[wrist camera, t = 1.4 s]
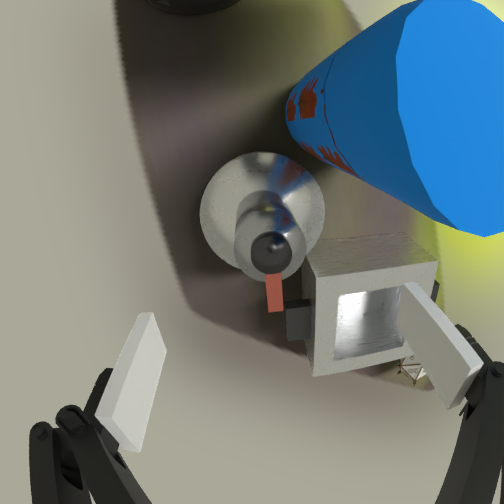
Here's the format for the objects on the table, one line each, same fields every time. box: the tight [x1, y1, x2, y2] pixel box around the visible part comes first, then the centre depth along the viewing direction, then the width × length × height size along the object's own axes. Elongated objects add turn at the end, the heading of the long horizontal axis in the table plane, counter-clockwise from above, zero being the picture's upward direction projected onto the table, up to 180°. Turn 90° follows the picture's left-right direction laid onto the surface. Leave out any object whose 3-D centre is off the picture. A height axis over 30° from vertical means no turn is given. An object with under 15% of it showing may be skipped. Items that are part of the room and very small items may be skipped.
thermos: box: [285, 0, 504, 237], centre depth 18 cm, size 11×11×25 cm
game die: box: [397, 354, 426, 386], centre depth 41 cm, size 9×8×10 cm
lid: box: [200, 151, 325, 312], centre depth 27 cm, size 13×13×14 cm
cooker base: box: [284, 232, 440, 377], centre depth 35 cm, size 15×21×9 cm
